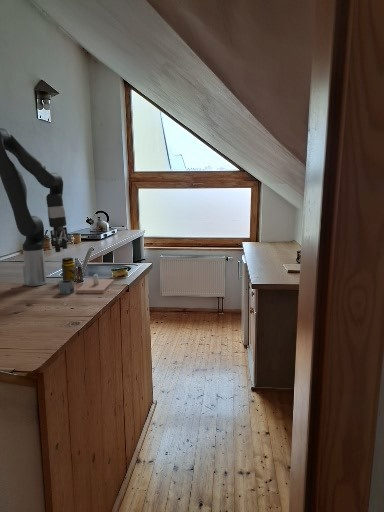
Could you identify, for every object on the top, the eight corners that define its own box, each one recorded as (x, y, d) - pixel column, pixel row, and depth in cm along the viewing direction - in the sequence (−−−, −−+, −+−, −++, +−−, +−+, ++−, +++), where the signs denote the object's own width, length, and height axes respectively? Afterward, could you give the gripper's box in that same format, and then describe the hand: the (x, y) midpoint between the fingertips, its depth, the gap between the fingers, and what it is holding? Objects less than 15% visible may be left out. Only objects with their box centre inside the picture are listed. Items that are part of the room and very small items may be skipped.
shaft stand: (76, 293, 160) (75, 279, 159) (90, 282, 179) (89, 269, 177) (103, 293, 160) (102, 279, 158) (114, 282, 178) (113, 269, 177)
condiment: (78, 282, 180) (76, 258, 178) (60, 284, 175) (58, 260, 173) (74, 279, 186) (72, 256, 184) (57, 281, 181) (55, 258, 179)
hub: (57, 294, 159) (56, 283, 158) (63, 290, 165) (62, 280, 164) (71, 294, 159) (70, 283, 158) (76, 290, 164) (75, 279, 164)
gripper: (55, 215, 175) (59, 248, 178) (42, 218, 161) (47, 253, 164) (70, 214, 174) (74, 247, 177) (58, 217, 160) (63, 252, 163)
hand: (61, 250), depth 171 cm, fingers open, 8 cm apart
